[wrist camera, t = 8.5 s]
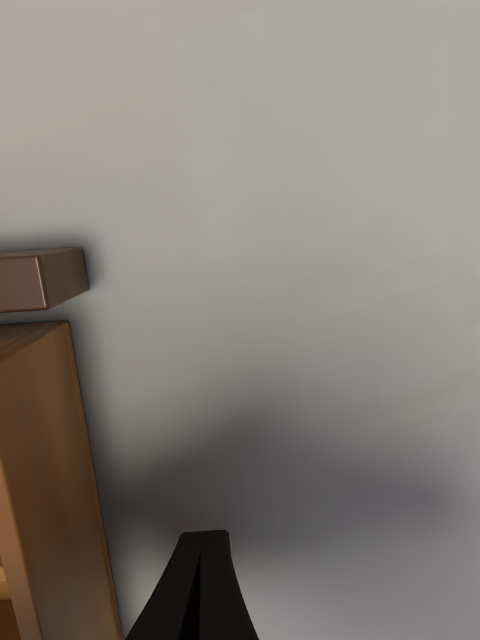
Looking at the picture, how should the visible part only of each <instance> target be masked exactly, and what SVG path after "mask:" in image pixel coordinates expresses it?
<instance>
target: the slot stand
mask: <svg viewBox="0 0 480 640" xmlns="http://www.w3.org/2000/svg"><path fill="white" fill-rule="evenodd" d="M88 289H89V288H88V282H87V275H86V269H85V262H84V256H83V250H82V248H80V247H73V248H57V249H41V250H26V251H10V252H0V313H9V312H25V311H40V310H48V309H50V308H52V307H54V306H57V305H59V304H61V303H63V302H65V301H67V300H69V299H71V298H73V297H76V296H78V295H80V294H82V293H84V292H86V291H88Z"/></svg>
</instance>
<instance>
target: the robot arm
mask: <svg viewBox="0 0 480 640" xmlns="http://www.w3.org/2000/svg"><path fill="white" fill-rule="evenodd" d="M125 640H259V638H258V636H257V634H256V631H255V629H254V627H253V624H252V621H251V619H250V616H249V614H248V611H247V608H246V606H245V603H244V600H243V597H242V594H241V591H240V587H239V584H238V581H237V578H236V574H235V571H234V567H233V562H232V558H231V551H230V540H229V532H227V531H226V530H211V531H196V532H183V533H182V534H181V535H180V537H179V539H178V542H177V544H176V547H175V549H174V551H173V554H172V556H171V558H170V560H169V562H168V564H167V566H166V568H165V570H164V572H163V574H162V576H161V578H160V580H159V582H158V584H157V585H156V587H155V589H154V591H153V593H152V595H151V597H150V598H149V600H148V602H147V604H146V605H145V607H144V609H143V610H142V612H141V614H140V615H139V617H138V619H137V620H136V622H135V624H134V625H133V627H132V629H131V630H130V632H129V633H128V635H127V637H126V638H125Z"/></svg>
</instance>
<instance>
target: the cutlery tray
mask: <svg viewBox="0 0 480 640" xmlns="http://www.w3.org/2000/svg"><path fill="white" fill-rule="evenodd" d="M0 640H123V638H122V632H121V626H120V620H119V614H118V609H117V603H116V597H115V591H114V585H113V579H112V574H111V568H110V562H109V556H108V550H107V545H106V539H105V533H104V527H103V521H102V515H101V510H100V504H99V498H98V492H97V486H96V480H95V475H94V469H93V463H92V457H91V451H90V445H89V440H88V434H87V428H86V422H85V416H84V411H83V405H82V399H81V393H80V387H79V381H78V376H77V370H76V364H75V358H74V352H73V346H72V341H71V335H70V329H69V323H68V321H55V322H39V323H23V324H7V325H0Z"/></svg>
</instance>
